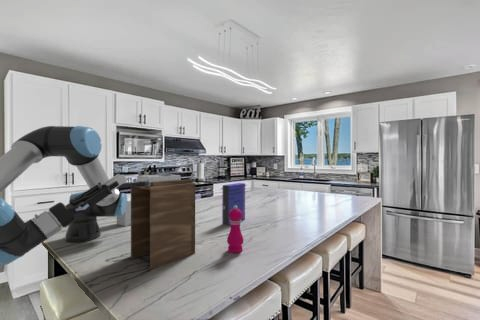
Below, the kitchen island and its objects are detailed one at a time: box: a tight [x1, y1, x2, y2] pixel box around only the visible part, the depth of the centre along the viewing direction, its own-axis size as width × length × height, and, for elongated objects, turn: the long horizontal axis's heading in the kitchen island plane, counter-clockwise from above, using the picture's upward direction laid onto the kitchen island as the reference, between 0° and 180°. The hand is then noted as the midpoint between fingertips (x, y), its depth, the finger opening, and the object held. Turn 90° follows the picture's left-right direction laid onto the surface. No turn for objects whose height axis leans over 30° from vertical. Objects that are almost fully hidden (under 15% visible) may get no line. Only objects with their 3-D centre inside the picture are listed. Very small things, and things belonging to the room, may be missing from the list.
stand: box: [130, 178, 196, 270], centre depth 103 cm, size 17×20×32 cm
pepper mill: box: [226, 205, 244, 254], centre depth 109 cm, size 7×7×20 cm
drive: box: [98, 172, 182, 189], centre depth 96 cm, size 10×30×4 cm, turn 138°
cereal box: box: [221, 182, 246, 226], centre depth 156 cm, size 17×5×24 cm, turn 144°
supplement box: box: [116, 197, 131, 227], centre depth 150 cm, size 9×9×15 cm
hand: (122, 177), depth 91 cm, fingers open, 3 cm apart
